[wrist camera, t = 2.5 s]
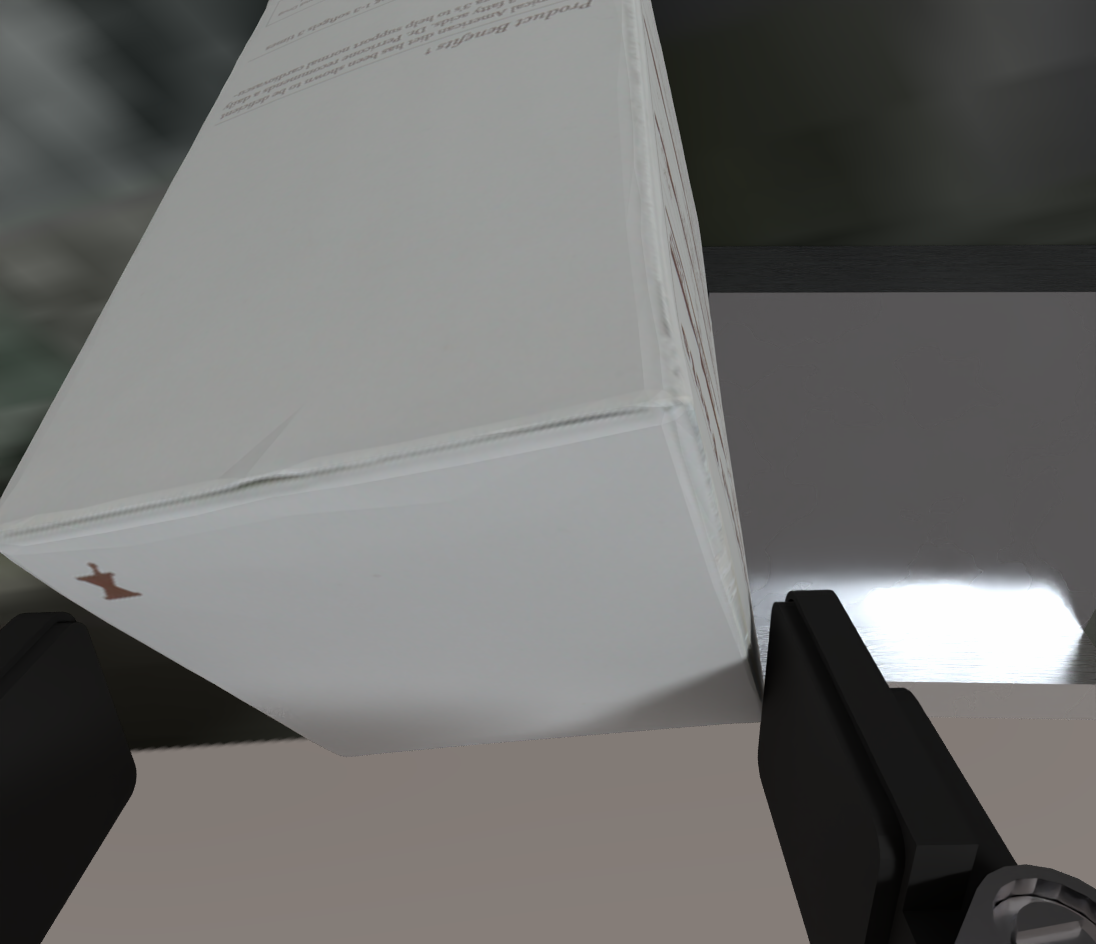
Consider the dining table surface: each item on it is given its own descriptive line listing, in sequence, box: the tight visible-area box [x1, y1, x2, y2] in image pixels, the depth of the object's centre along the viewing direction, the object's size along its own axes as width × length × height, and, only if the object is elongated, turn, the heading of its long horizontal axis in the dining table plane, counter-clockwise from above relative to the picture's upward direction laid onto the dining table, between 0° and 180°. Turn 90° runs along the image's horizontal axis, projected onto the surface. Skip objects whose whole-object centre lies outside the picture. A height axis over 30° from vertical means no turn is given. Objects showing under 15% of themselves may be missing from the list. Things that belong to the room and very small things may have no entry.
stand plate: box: [702, 245, 1096, 720], centre depth 21 cm, size 12×12×5 cm
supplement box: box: [0, 0, 764, 757], centre depth 13 cm, size 7×7×13 cm
